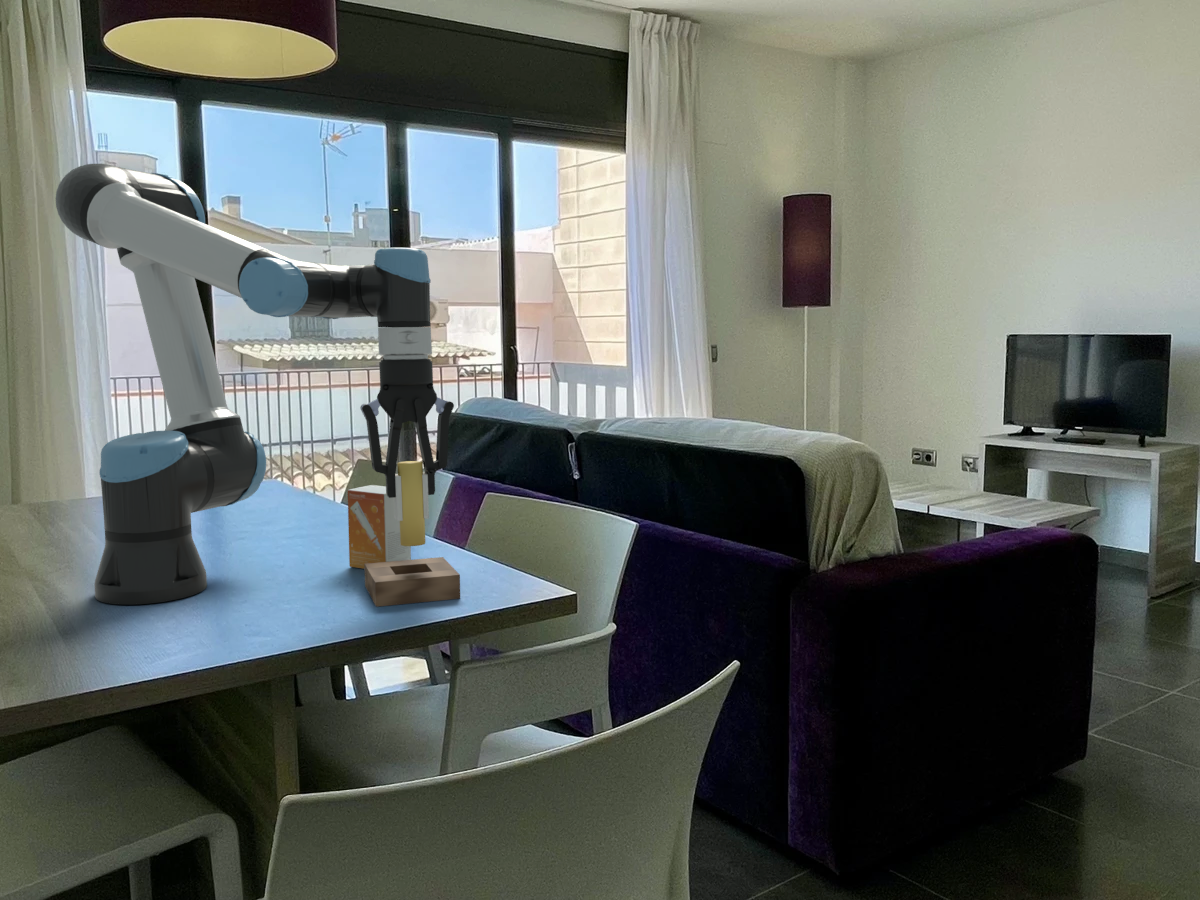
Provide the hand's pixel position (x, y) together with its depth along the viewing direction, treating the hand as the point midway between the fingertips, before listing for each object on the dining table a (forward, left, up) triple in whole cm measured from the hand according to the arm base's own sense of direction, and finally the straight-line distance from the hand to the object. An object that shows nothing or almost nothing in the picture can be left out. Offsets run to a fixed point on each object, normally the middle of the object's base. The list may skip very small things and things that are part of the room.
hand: (411, 517), depth 143 cm
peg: (0, 0, -4) cm, 4 cm away
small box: (-2, +18, -11) cm, 22 cm away
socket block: (0, 0, -11) cm, 11 cm away
